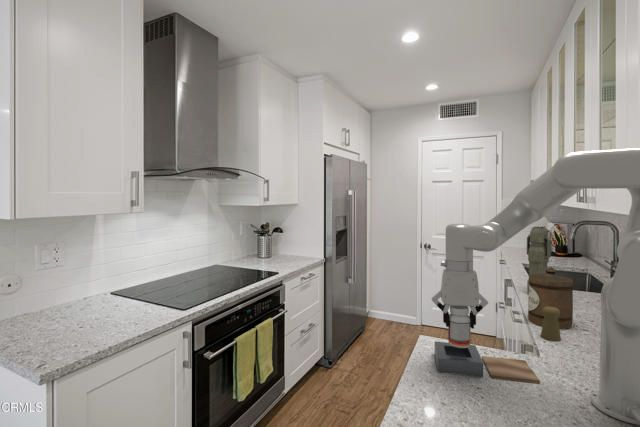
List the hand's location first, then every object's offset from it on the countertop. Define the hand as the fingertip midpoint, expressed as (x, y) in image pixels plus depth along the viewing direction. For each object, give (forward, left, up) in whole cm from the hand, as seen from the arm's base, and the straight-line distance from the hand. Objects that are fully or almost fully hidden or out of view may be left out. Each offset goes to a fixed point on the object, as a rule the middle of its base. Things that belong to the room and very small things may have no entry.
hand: (459, 325), depth 102 cm
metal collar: (0, 0, -12) cm, 12 cm away
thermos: (+89, -50, -12) cm, 103 cm away
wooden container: (+47, -40, -12) cm, 63 cm away
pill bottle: (0, 0, -6) cm, 6 cm away
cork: (+29, -35, -12) cm, 47 cm away
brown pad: (0, -14, -12) cm, 18 cm away
